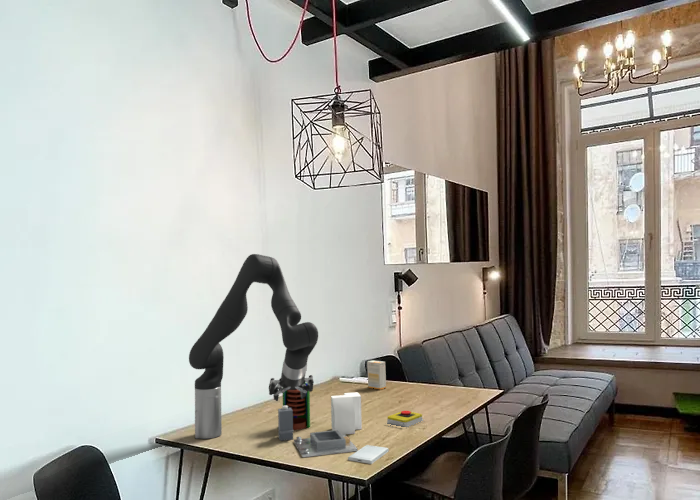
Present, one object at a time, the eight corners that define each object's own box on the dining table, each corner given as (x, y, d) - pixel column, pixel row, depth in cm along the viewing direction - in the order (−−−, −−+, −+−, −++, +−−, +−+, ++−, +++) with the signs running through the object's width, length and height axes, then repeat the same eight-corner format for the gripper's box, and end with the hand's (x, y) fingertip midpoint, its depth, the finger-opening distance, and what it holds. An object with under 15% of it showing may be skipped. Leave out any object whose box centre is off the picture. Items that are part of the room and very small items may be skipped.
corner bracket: (358, 424, 203) (357, 392, 204) (364, 433, 192) (363, 399, 193) (330, 426, 202) (329, 393, 202) (334, 435, 190) (334, 401, 191)
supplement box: (386, 388, 263) (385, 361, 264) (380, 390, 260) (379, 362, 260) (373, 386, 269) (373, 359, 269) (367, 387, 265) (366, 361, 266)
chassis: (302, 457, 168) (302, 446, 168) (293, 442, 184) (293, 432, 184) (357, 451, 173) (357, 440, 173) (344, 436, 188) (344, 427, 189)
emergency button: (425, 410, 207) (402, 418, 195) (425, 421, 206) (402, 431, 195) (405, 406, 213) (382, 414, 202) (406, 417, 213) (382, 426, 201)
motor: (284, 431, 196) (283, 376, 197) (281, 424, 205) (280, 371, 206) (311, 428, 199) (310, 374, 200) (307, 422, 208) (306, 369, 208)
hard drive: (365, 444, 176) (347, 456, 165) (388, 447, 172) (371, 460, 161) (366, 449, 176) (347, 461, 165) (388, 453, 172) (371, 465, 161)
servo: (280, 441, 184) (280, 409, 185) (278, 436, 190) (277, 405, 191) (293, 440, 186) (293, 408, 186) (290, 435, 191) (290, 404, 192)
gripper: (314, 357, 173) (308, 386, 184) (270, 360, 169) (266, 389, 180) (318, 377, 168) (311, 405, 179) (272, 380, 164) (268, 409, 175)
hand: (289, 397), depth 179 cm, fingers open, 8 cm apart
